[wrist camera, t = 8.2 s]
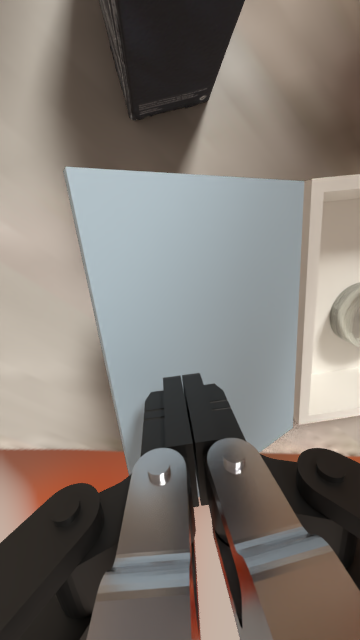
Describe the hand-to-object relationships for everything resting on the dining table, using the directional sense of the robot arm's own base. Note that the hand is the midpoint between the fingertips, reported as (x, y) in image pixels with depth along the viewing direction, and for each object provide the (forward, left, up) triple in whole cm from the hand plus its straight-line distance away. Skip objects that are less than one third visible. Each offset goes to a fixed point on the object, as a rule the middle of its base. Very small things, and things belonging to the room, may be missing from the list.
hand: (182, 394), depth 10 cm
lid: (-3, +1, -4) cm, 5 cm away
